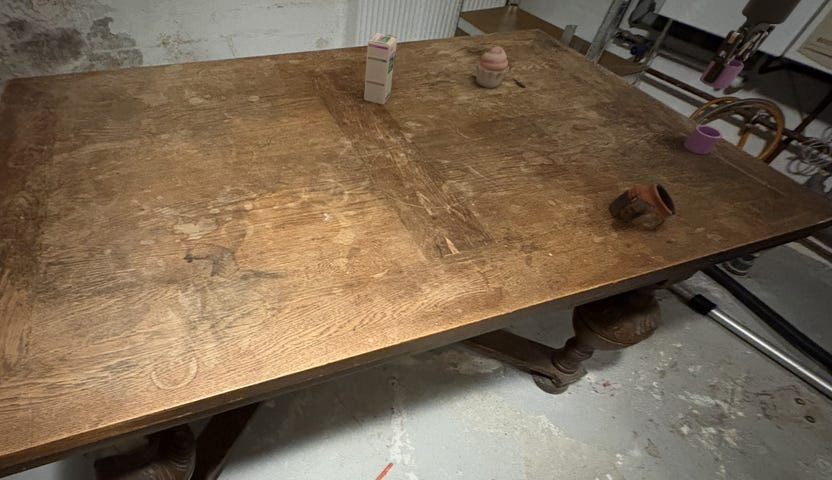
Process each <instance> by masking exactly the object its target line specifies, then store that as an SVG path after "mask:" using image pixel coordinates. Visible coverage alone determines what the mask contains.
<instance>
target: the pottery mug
mask: <svg viewBox="0 0 832 480" xmlns="http://www.w3.org/2000/svg"><path fill="white" fill-rule="evenodd" d="M633 200H634V201H633ZM651 207H652V209H651ZM650 210H651V211H652V212H653V213H655V215H656V216H657V217H659V218H660V219H661V220H662V221H661V222H660V223H658V224H657V225H656V226H654V227H653V229H654V230H658V229H659V228H662V226H664V225H665V223H667V221H668V220H669V218H670V217H672V216H674V215H676V213H677V209H676V206H675V203H674V201H673V199H672V197H671V195H670V193H669V192H668V191H667V189H666V188H665V187H664V186H663V185H662V184H661V183H659V182H657V181H655V182H653V183H651V184H638V185H636V186H632V187H631V188H629V189H626V190H625V191H623V193H621V194H620V195H618V196H617V197H616V198H615V199H614V200H612V201H611V203H610V212H611V214H612V216H613V217H616V216H617V215H619V217H620V219H621V220H622V221H623V222H625V223H630V222H632V221H634V220H636V219H637V218H640V217H642V216H645V215H646V214H647V213H648V212H650Z"/></svg>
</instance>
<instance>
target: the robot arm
mask: <svg viewBox="0 0 832 480" xmlns="http://www.w3.org/2000/svg"><path fill="white" fill-rule="evenodd" d="M801 1H802V0H748V1H747V3H746V4H745V6H744V7H743V9H742V11H741V15H742V16H743V17H745V18H746V20H745V21H744V22H743V23H742V25H740V26H738V28H737V29H736V30H733V29H731V30H730V31H729V32H728V33H727V34H726V36H725V38H724V39H723V40H722V43H721V44H720V45H719V47H718V49H717V50H716V52H715V53H714V55H713V56H712V58H711V61H714V62H715V63H714V65H713V66H712V68H711V69H710V70H709V72H708V73H707V75H706V76H705V77H704V81H705V82H708V83H710V84H712V83H715V82H716V80H717V79H718V78H719V76H720V75H721V73H722V72H723V71H724V69H725V68H726V67H727V65H729V63H730V62H731V61H732V60H733V59H736V60H738V61H740V62H742V63H743V62H745V61H746V60H747V59H748V58H749V57H752V56H754V55H755V53H756V52H757V51H758V49H760V47H761V46H762V45H763V43H764V42H765V41H766V40H767V38H769V36H770V35H771V34H772V32H773V31H774V30H775V29H776V25H781V24H784V23H785V22H786V20H788V18H789V17H790V16H791V14H792V13H793V12H794V11H795V10H796V8H797V6H799V4H800V3H801ZM723 56H725V57H723Z"/></svg>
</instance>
